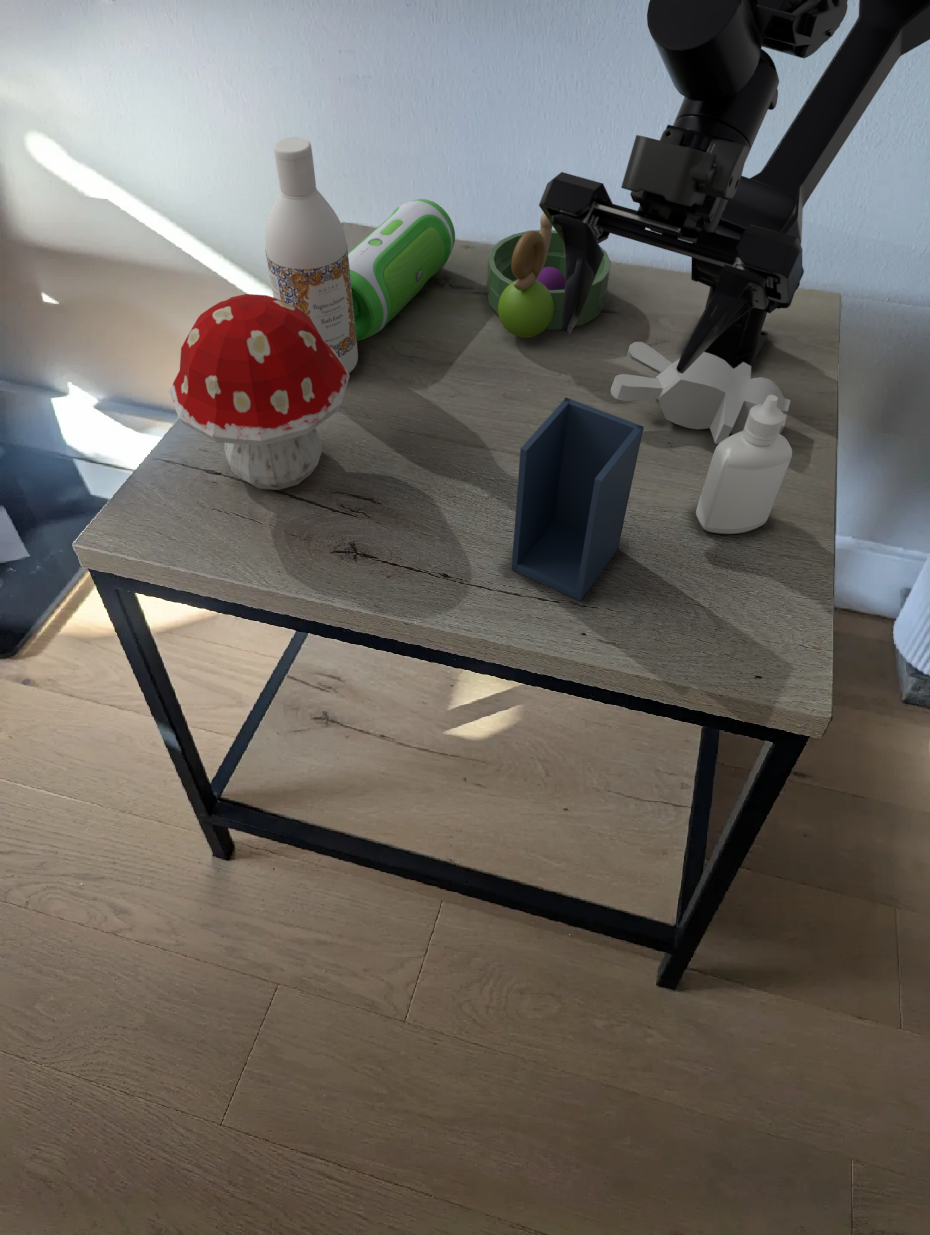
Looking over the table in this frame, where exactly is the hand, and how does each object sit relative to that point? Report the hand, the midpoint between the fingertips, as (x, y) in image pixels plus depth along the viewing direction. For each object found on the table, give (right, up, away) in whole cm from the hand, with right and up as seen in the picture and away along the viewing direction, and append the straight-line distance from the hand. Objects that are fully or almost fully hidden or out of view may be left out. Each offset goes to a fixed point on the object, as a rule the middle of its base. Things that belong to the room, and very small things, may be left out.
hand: (621, 351), depth 64 cm
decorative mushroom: (-27, -7, +10) cm, 30 cm away
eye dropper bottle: (+10, -12, +7) cm, 17 cm away
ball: (-3, +14, +24) cm, 28 cm away
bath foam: (-25, +5, +20) cm, 32 cm away
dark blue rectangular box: (-4, -15, +4) cm, 16 cm away
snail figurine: (-6, +11, +21) cm, 24 cm away
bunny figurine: (+9, -1, +15) cm, 18 cm away
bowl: (-3, +14, +27) cm, 30 cm away
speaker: (-19, +13, +26) cm, 35 cm away
